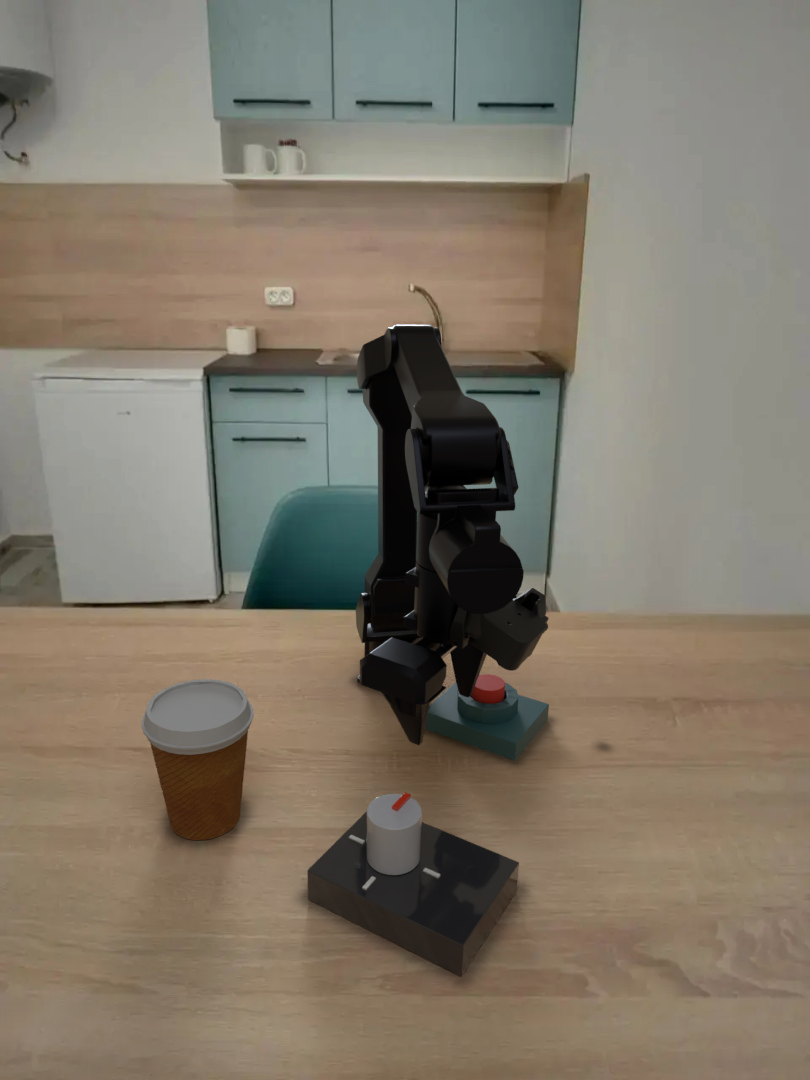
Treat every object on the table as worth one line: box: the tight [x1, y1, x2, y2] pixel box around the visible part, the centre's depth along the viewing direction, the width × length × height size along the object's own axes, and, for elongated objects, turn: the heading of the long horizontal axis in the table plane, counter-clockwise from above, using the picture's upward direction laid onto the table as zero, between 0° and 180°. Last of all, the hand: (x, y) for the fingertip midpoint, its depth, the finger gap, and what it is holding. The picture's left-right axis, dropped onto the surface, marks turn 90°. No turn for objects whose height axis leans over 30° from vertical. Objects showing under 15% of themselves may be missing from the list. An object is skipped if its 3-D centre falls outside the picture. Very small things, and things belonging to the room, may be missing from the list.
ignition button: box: [471, 673, 506, 704], centre depth 90 cm, size 4×4×2 cm
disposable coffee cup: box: [141, 678, 254, 841], centre depth 74 cm, size 10×10×12 cm
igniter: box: [425, 681, 550, 762], centre depth 91 cm, size 11×9×4 cm
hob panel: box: [306, 810, 520, 977], centre depth 67 cm, size 14×10×3 cm
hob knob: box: [366, 791, 423, 875], centre depth 67 cm, size 4×4×5 cm
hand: (441, 718), depth 76 cm, fingers open, 9 cm apart
